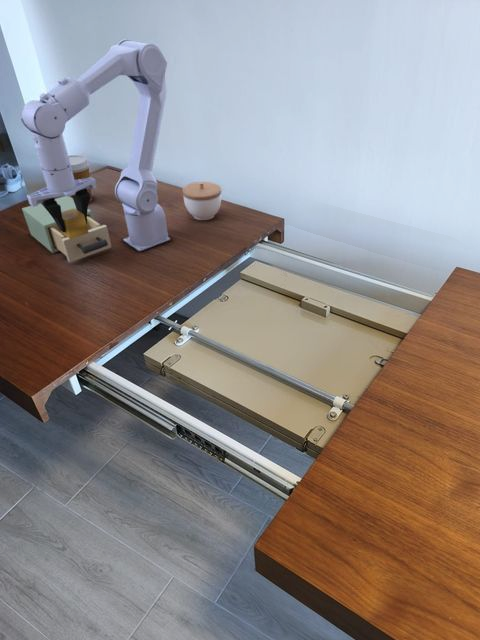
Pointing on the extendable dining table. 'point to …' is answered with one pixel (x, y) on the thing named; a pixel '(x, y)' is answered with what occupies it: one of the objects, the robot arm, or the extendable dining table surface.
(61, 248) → the drawer
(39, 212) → the cabinet
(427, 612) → the extendable dining table surface
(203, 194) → the trinket box
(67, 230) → the block
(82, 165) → the disposable coffee cup
